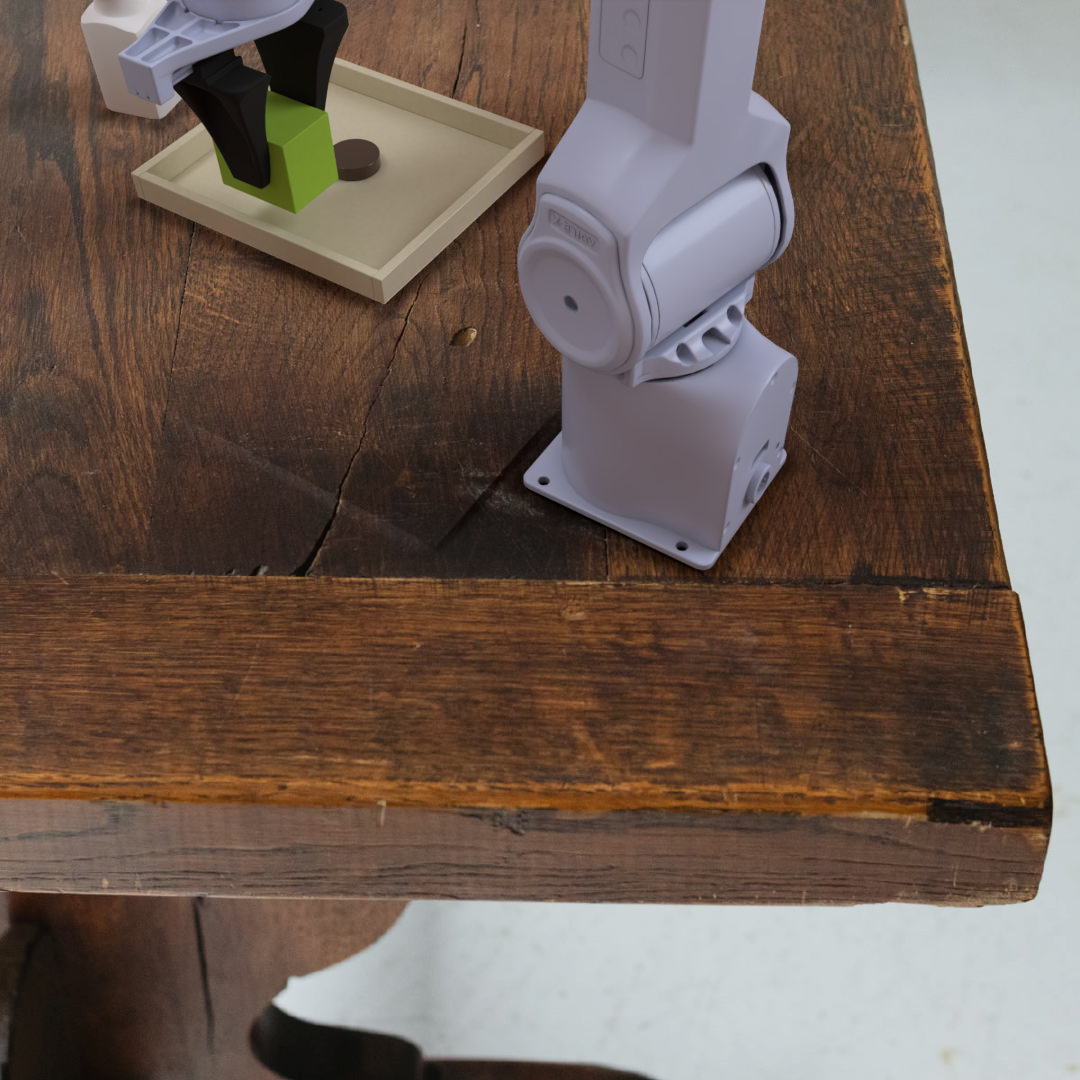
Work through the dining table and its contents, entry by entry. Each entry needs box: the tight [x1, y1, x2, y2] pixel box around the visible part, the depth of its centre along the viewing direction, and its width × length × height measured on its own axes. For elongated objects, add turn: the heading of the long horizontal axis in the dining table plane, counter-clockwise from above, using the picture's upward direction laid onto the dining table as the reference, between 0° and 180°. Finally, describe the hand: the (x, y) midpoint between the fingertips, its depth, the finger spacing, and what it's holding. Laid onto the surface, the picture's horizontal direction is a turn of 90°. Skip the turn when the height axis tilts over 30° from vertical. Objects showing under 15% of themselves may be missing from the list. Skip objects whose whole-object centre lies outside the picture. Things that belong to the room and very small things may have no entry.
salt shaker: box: [80, 0, 183, 120], centre depth 73 cm, size 4×4×10 cm
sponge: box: [212, 90, 338, 214], centre depth 65 cm, size 5×4×4 cm
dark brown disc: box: [333, 139, 381, 181], centre depth 71 cm, size 3×3×1 cm
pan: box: [130, 57, 545, 305], centre depth 70 cm, size 17×15×2 cm
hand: (278, 159), depth 65 cm, fingers closed on sponge, 3 cm apart
